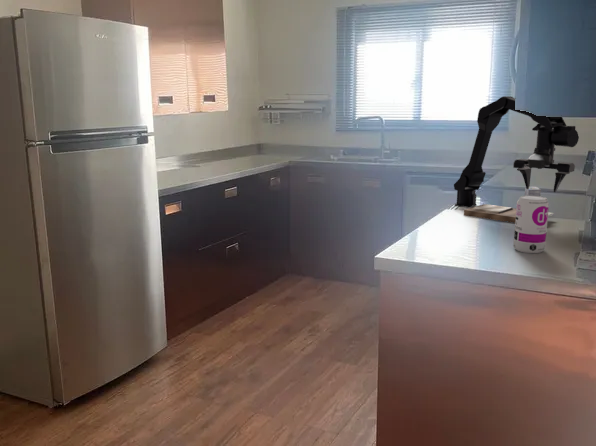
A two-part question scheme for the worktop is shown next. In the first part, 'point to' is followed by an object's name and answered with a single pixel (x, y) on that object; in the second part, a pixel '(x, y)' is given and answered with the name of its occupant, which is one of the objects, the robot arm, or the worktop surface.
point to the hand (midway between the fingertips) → (541, 190)
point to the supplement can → (531, 224)
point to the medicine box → (532, 191)
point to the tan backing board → (492, 212)
